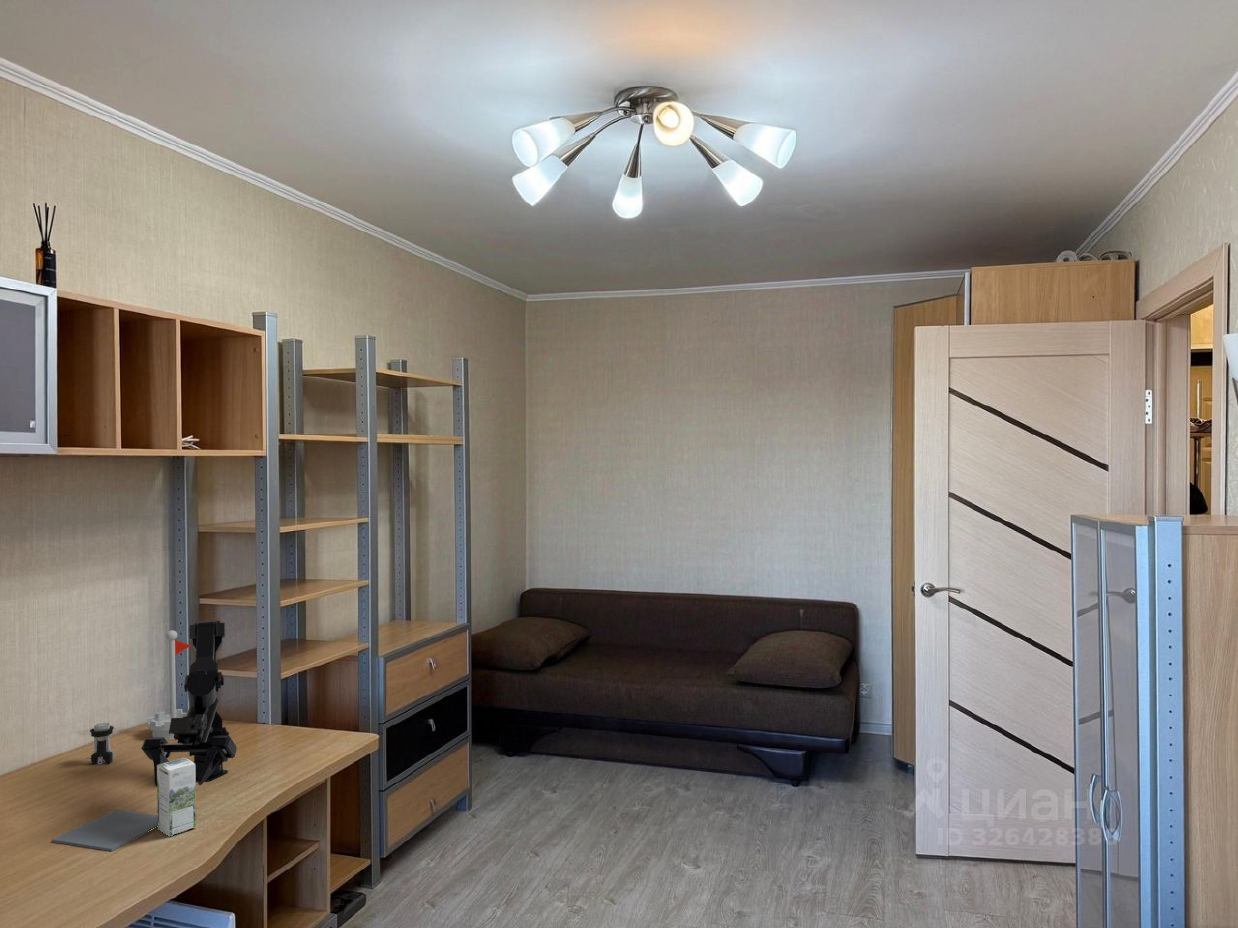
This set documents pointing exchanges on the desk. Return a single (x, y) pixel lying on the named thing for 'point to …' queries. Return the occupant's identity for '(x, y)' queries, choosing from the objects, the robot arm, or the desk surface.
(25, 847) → the desk surface
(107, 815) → the slate mat
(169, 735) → the flag stand
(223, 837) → the desk surface
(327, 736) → the desk surface
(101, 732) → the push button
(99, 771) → the desk surface
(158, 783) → the syrup box
